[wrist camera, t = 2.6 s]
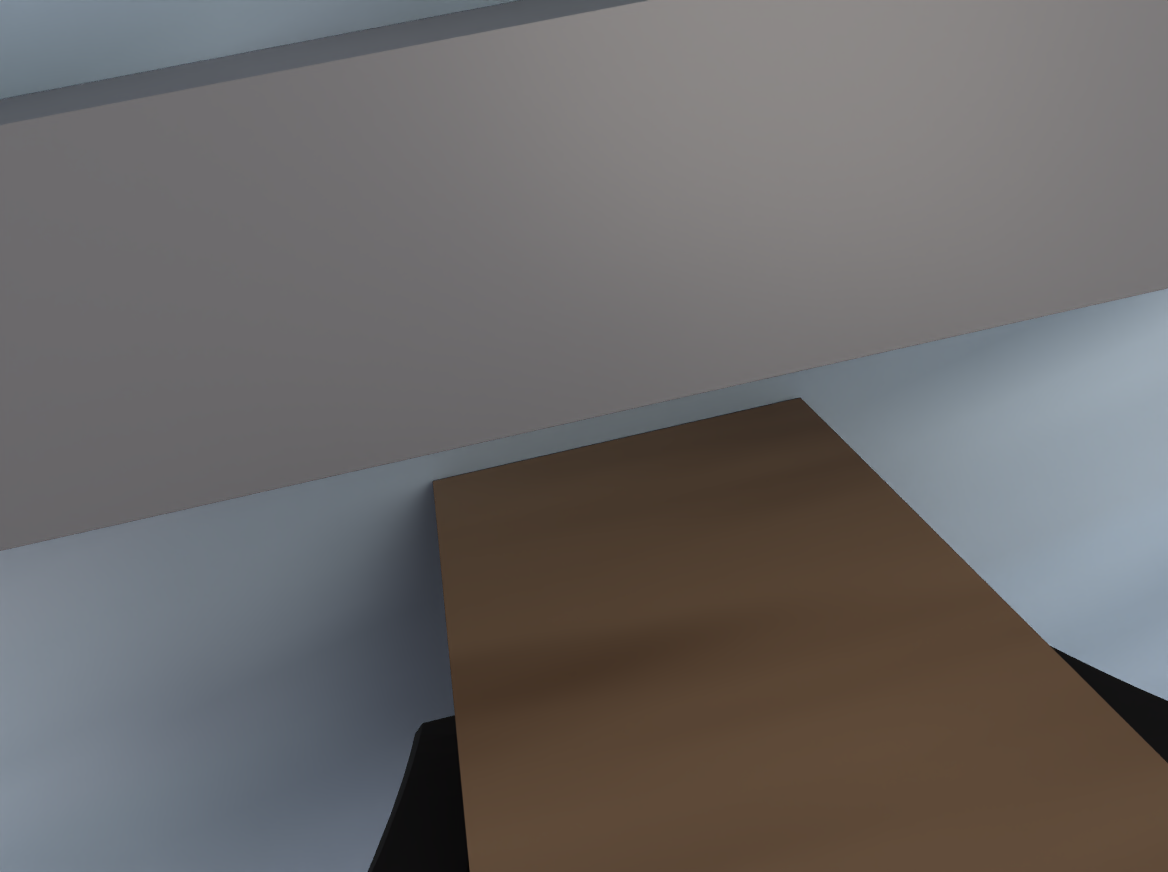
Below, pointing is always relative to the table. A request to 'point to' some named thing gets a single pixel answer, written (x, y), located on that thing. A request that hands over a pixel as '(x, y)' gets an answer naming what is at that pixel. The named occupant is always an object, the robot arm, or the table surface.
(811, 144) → the well block
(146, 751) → the table surface
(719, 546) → the walnut block
